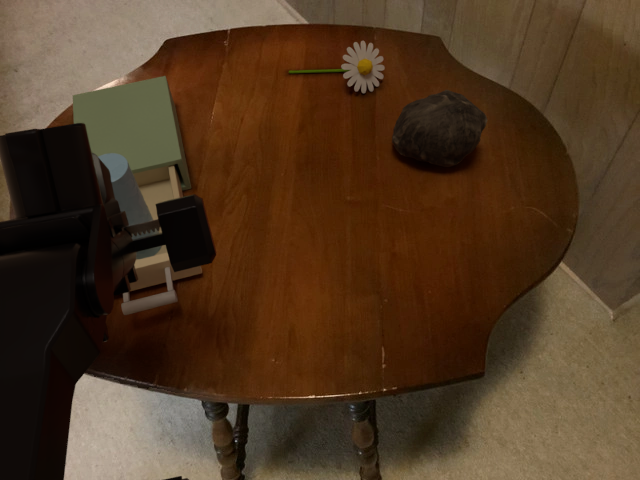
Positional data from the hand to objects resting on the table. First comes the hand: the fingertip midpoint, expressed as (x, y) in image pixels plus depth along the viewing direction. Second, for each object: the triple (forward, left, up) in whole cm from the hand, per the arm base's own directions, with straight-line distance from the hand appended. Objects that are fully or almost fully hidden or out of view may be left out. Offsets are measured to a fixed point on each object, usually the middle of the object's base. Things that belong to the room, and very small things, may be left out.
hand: (120, 239), depth 60 cm
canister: (+1, +8, -12) cm, 14 cm away
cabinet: (+2, +26, -13) cm, 29 cm away
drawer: (+1, +8, -13) cm, 15 cm away
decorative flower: (+34, +29, -14) cm, 47 cm away
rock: (+42, +10, -14) cm, 45 cm away
